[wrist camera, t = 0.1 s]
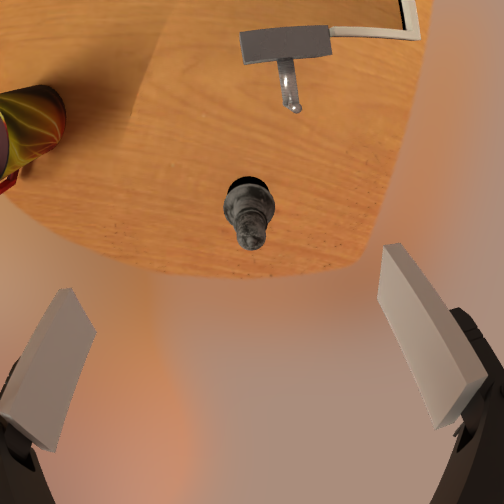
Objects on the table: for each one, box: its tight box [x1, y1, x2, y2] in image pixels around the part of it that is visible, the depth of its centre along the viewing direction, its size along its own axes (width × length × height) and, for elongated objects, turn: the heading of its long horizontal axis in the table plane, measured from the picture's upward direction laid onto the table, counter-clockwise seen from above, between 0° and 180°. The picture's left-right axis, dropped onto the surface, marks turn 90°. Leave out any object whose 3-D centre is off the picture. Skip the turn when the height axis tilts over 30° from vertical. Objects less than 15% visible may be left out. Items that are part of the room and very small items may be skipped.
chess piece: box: [223, 176, 275, 250], centre depth 33 cm, size 6×6×12 cm
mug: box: [0, 85, 66, 194], centre depth 27 cm, size 10×14×12 cm
